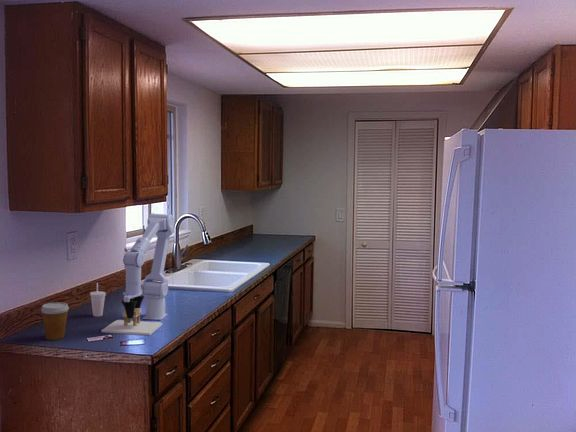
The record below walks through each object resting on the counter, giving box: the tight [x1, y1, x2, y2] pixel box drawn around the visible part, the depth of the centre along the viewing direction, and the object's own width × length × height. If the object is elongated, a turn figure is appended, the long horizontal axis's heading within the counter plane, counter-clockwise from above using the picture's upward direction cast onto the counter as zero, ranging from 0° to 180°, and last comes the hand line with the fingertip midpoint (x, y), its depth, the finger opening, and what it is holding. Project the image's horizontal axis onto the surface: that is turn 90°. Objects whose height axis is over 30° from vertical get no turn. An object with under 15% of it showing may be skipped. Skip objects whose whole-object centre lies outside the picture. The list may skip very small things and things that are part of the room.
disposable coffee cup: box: [40, 302, 70, 341], centre depth 204 cm, size 10×10×12 cm
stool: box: [122, 307, 142, 326], centre depth 219 cm, size 5×5×6 cm
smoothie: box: [89, 282, 107, 318], centre depth 236 cm, size 6×6×14 cm
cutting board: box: [101, 319, 163, 336], centre depth 219 cm, size 15×19×1 cm
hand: (133, 316), depth 219 cm, fingers closed on stool, 5 cm apart
